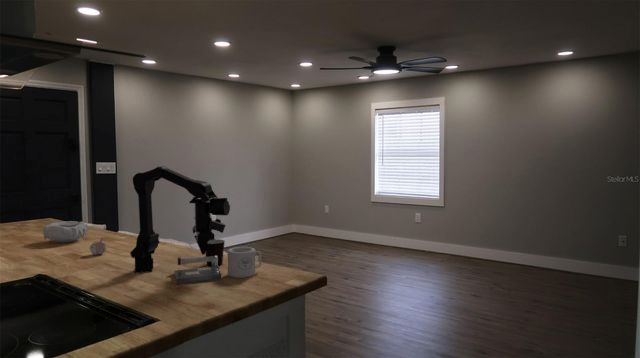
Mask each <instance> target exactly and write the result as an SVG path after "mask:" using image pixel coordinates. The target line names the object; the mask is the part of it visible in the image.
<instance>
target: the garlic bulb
mask: <svg viewBox="0 0 640 358" xmlns="http://www.w3.org/2000/svg"><path fill="white" fill-rule="evenodd" d="M103 240H104V238H101V239H100V240H97V241H95V242H93V243H92V244H91V245H90V247H89V251H90V253H91V254H92V255H95V256H99V255H103V254H104V253H105V252H106V251H107V245H106V244H107V243H106V242H105V241H103Z"/></svg>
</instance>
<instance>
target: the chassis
mask: <svg viewBox="0 0 640 358" xmlns="http://www.w3.org/2000/svg"><path fill="white" fill-rule="evenodd" d="M173 273H174V274H173V275H174V280H175V283H176V285H183V284H194V283H201V282H202V283H203V282H210V281H211V282H212V281H219V280H220V281H221V280H222V273H221V271H220V270H218V269H217V267H216V266H215V267H212V266H205V267H197V268H186V269H177V270H174V271H173Z"/></svg>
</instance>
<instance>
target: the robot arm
mask: <svg viewBox="0 0 640 358" xmlns="http://www.w3.org/2000/svg"><path fill="white" fill-rule="evenodd" d="M160 179H164V180H165V181H168V182H170V183H172V184H175V185H176V186H179V187H182V188H184V189H185V190H186V191H187V192H188V193H189V194H190V195H191V196H193V197H192V199H191V200H189V204H194V221H195V222H194V223H195V224H194V226H193V227H192V232H191V233H192V234H196V235H194V238H195V241H196V244H197V246H198V248H199V251H200V253H201V255H205V252H206V247H207V243H208V241H209V240H214V239H215V234H214V232H213V230H214V231H215V232H216V231H217V232H219V233H222V234H223V233H224V231H225V227H226V224H225V223H223V222H222V221H221V219H220V218H215V220H213V218H212V217H211V215H212V216H228V215H230V211H231V205H230V202H229V200H228V197H218V195H217V194H216V193H215V192H214V191H213V188H212V185H211V183H209V182H207V181H203V180H198V179H193V178H191V177H188V176H185V175H183V174H181V173H179V172H177V171H175V170H173V169H171V168H168V167H167V166H157V167H155V168H153V169H150V170H148V171H145V172H137V173H135V174H134V175H133V177H132V184H133V189H134V190H135V193H137V194H136V195H137V196H138V197H137V198H138V214H139V215H138V217H139V218H138V219H139V231H138V232H139V233H138V234H137V237H136V243H135V247H134V248H133V249H132V250H131V251H130V252H129V254H130V257H131V258H132V259H134V273H135V274H139V273H149V272H153V269H154V257H152V255H154V254H155V251H156V249H157V248H158V247H159V244H160V239H159V238H160V234H159V232H158V233H156V232H155V231H154V224H153V223H154V221H153V203H152V200H153V199H152V195H153V194H152V193H153V191H154V188H155V183H156V182H157V181H159V180H160Z"/></svg>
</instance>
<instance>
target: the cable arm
mask: <svg viewBox="0 0 640 358" xmlns="http://www.w3.org/2000/svg"><path fill="white" fill-rule="evenodd" d="M209 261H212V266H211V267H215V266H216V267H217V268H218V267H219V266H218V256H217V255H214V256H206V255H205V256H194V257H193V256H192V257H177V266H181V265H184V264H196V263H197V264H198V263H207V262H209Z"/></svg>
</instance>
